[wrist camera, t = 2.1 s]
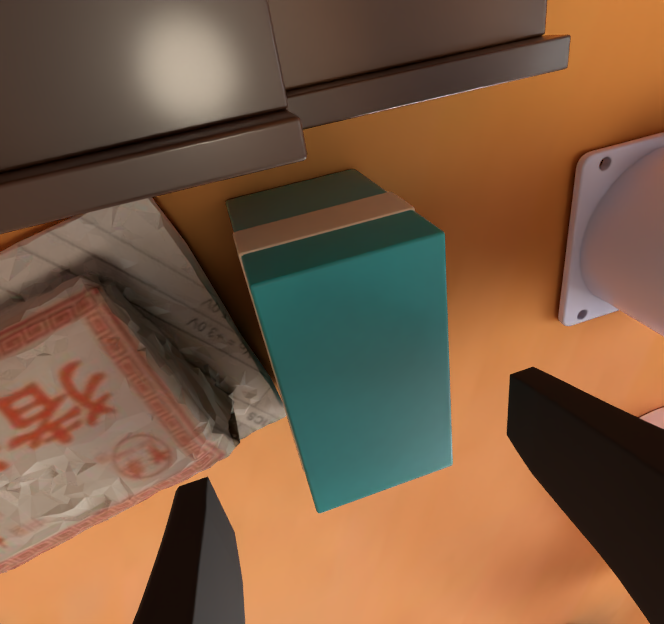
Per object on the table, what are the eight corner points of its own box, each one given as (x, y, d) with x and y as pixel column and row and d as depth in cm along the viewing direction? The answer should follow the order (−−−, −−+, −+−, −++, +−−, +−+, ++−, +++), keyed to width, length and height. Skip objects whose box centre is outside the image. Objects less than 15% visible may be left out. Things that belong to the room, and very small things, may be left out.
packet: (355, 165, 16) (448, 228, 10) (381, 352, 20) (455, 466, 14) (222, 198, 15) (246, 284, 10) (278, 384, 19) (316, 516, 14)
